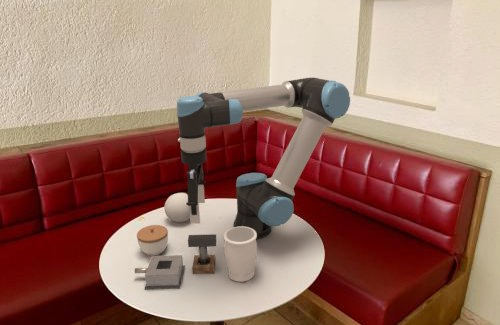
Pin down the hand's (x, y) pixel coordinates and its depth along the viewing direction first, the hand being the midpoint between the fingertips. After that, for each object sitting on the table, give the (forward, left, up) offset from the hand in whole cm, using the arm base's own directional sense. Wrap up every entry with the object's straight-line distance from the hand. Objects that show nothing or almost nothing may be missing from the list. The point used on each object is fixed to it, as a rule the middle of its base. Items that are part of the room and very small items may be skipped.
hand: (198, 212), depth 120 cm
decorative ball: (+12, -32, -21) cm, 40 cm away
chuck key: (-1, 0, -21) cm, 21 cm away
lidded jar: (+18, -10, -21) cm, 30 cm away
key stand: (-1, 0, -21) cm, 21 cm away
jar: (-13, +5, -21) cm, 25 cm away
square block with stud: (+13, +5, -21) cm, 25 cm away
